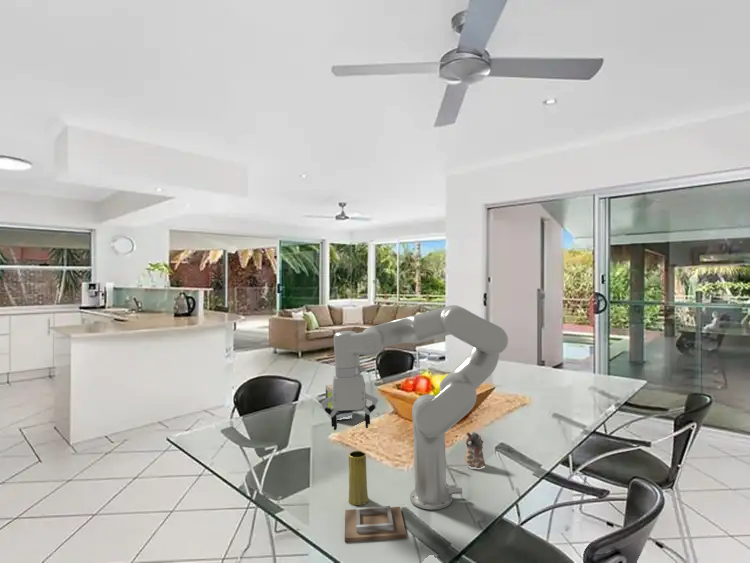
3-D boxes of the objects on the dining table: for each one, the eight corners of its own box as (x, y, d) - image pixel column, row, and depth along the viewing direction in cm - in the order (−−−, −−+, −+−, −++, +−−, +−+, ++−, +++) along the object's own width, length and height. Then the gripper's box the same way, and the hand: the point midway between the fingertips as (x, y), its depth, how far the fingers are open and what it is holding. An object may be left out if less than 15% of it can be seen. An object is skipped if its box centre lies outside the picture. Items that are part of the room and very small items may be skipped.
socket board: (400, 510, 129) (399, 501, 129) (406, 538, 115) (405, 528, 115) (345, 513, 128) (345, 504, 128) (344, 542, 114) (344, 532, 114)
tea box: (353, 419, 213) (352, 389, 213) (333, 422, 209) (332, 391, 209) (344, 411, 227) (343, 382, 227) (325, 413, 223) (324, 384, 223)
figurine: (485, 470, 153) (484, 436, 153) (464, 469, 154) (464, 435, 154) (484, 462, 160) (483, 429, 160) (464, 461, 161) (464, 428, 161)
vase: (357, 493, 139) (356, 448, 139) (372, 499, 135) (371, 453, 135) (344, 501, 134) (343, 455, 134) (359, 507, 131) (358, 459, 130)
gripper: (376, 367, 138) (379, 422, 138) (321, 371, 138) (324, 425, 138) (376, 372, 131) (379, 430, 131) (318, 376, 130) (321, 433, 131)
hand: (351, 427), depth 134 cm, fingers open, 9 cm apart
